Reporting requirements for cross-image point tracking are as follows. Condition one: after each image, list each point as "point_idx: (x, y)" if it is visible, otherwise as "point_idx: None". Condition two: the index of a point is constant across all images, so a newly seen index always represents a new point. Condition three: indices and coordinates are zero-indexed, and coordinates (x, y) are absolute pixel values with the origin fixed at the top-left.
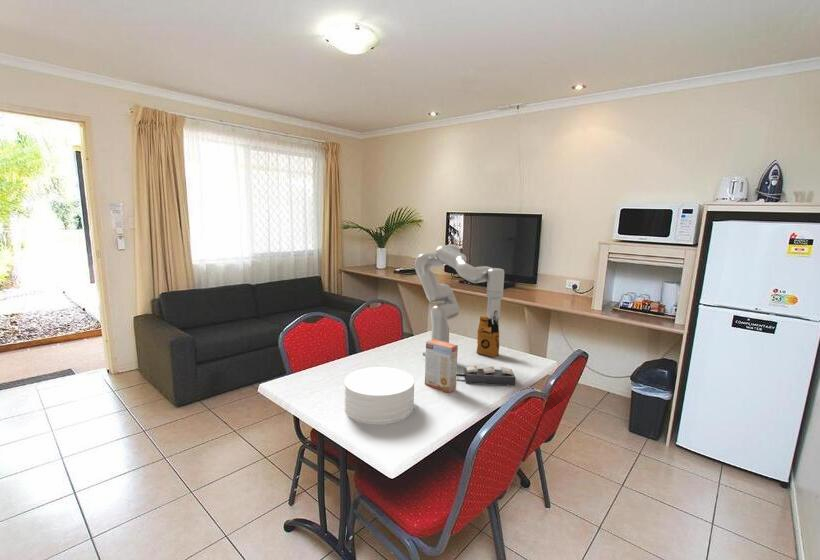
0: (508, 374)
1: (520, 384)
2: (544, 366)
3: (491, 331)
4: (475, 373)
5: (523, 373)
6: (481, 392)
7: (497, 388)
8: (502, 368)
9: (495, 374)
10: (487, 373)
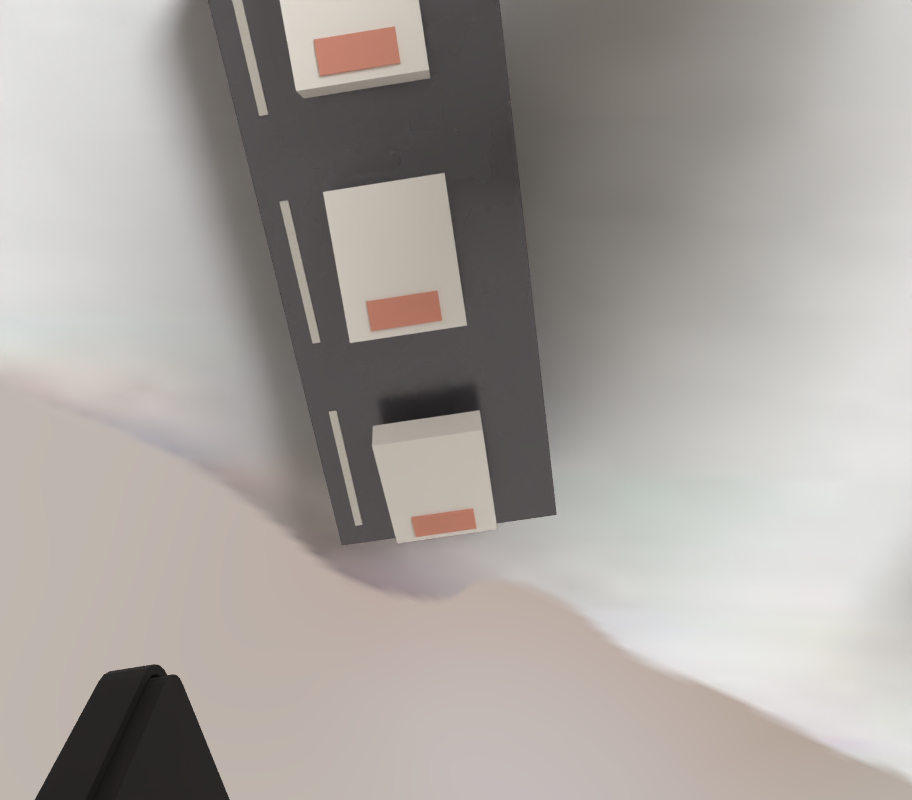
0: None
1: None
2: (905, 747)
3: (96, 699)
4: None
5: (696, 578)
6: (28, 157)
7: (216, 331)
8: (421, 440)
9: None
10: None
